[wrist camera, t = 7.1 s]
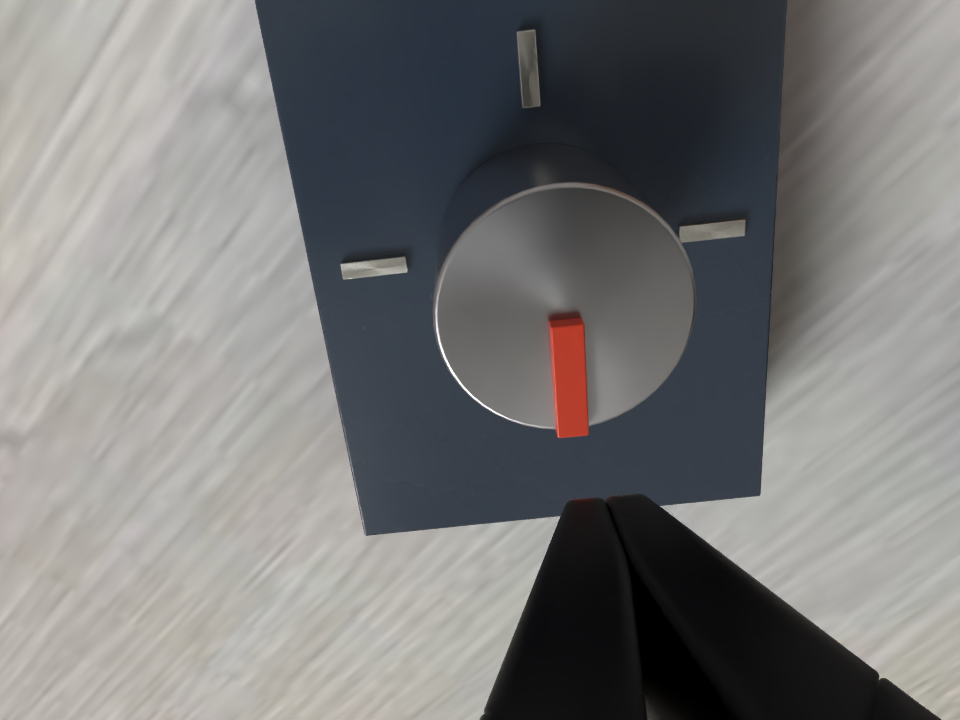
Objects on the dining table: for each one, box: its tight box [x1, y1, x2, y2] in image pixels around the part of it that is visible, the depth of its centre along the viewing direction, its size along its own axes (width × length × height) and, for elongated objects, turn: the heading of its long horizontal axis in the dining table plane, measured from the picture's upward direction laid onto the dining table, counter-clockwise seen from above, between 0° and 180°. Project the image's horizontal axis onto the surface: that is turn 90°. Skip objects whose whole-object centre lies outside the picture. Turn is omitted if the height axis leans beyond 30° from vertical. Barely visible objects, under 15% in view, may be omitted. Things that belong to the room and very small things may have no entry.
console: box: [255, 0, 787, 536], centre depth 18 cm, size 14×10×3 cm
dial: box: [432, 143, 696, 438], centre depth 14 cm, size 4×4×4 cm
